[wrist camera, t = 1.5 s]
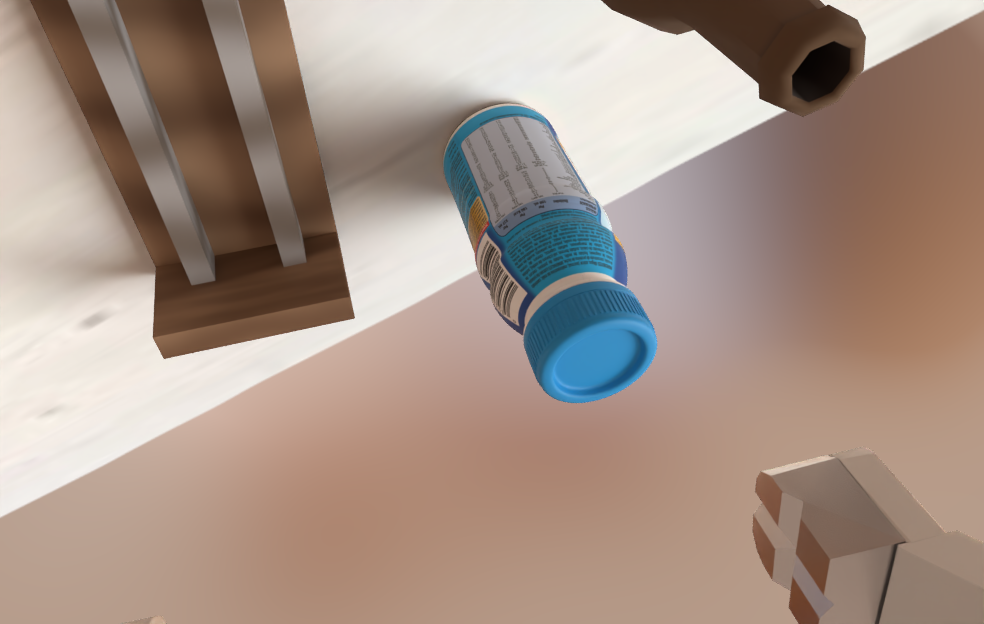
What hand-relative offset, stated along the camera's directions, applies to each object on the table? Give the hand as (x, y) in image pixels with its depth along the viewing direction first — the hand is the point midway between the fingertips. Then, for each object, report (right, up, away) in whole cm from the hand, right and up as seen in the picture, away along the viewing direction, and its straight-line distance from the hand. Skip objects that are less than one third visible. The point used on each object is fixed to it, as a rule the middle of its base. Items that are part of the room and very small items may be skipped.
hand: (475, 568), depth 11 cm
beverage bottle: (+1, +15, +44) cm, 46 cm away
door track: (-17, +16, +35) cm, 42 cm away
